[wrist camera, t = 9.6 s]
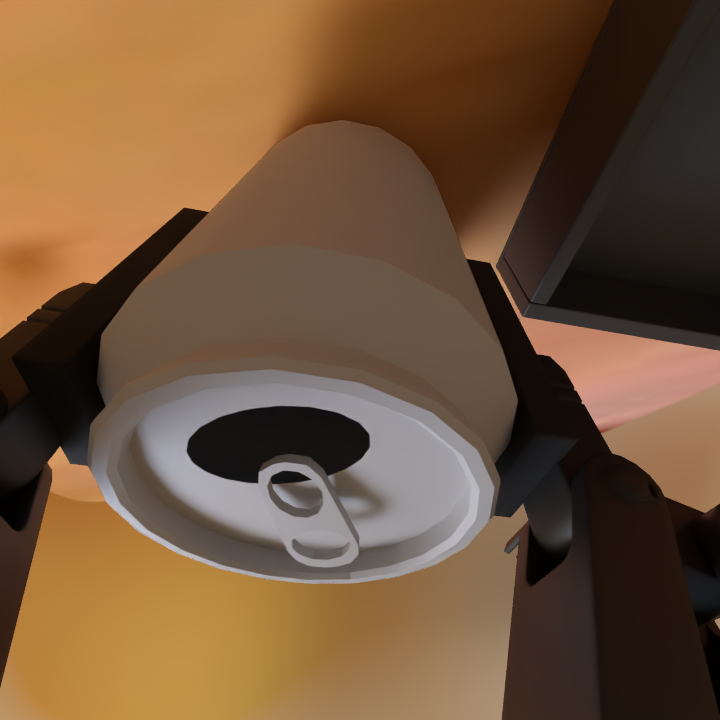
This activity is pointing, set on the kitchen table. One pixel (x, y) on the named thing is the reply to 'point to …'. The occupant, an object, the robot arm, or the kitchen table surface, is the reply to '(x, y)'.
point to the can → (309, 374)
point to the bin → (631, 185)
